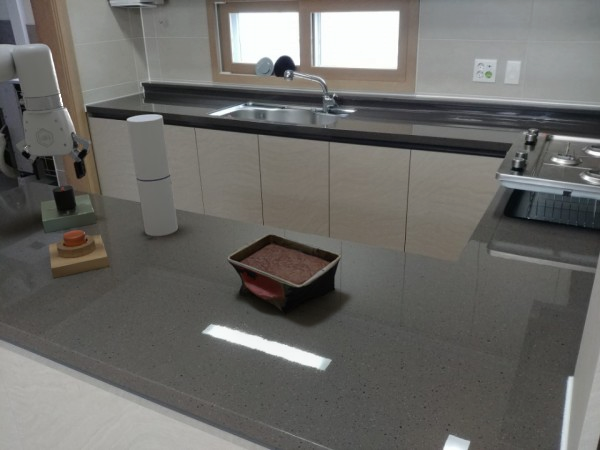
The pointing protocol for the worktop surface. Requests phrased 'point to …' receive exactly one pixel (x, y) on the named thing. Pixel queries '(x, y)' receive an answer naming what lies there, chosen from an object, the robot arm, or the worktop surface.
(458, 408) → the worktop surface
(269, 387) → the worktop surface
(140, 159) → the cylindrical container
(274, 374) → the worktop surface
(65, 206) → the knob
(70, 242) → the button
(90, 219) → the panel
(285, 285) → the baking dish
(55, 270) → the button block
